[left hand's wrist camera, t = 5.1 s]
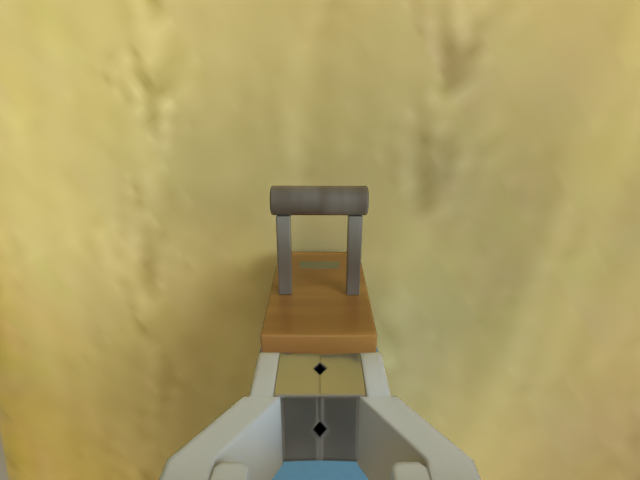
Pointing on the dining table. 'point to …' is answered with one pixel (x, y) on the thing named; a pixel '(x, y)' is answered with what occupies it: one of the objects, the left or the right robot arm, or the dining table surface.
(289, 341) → the drawer
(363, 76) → the dining table surface
